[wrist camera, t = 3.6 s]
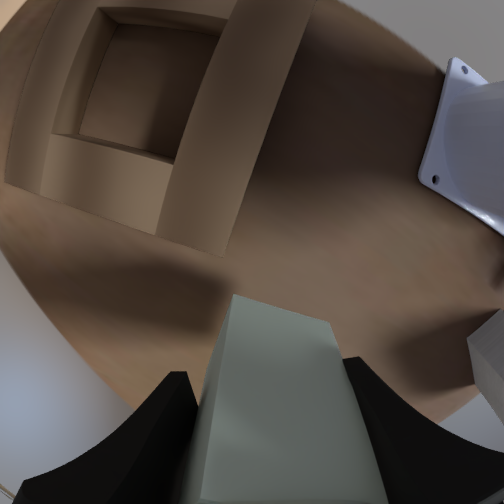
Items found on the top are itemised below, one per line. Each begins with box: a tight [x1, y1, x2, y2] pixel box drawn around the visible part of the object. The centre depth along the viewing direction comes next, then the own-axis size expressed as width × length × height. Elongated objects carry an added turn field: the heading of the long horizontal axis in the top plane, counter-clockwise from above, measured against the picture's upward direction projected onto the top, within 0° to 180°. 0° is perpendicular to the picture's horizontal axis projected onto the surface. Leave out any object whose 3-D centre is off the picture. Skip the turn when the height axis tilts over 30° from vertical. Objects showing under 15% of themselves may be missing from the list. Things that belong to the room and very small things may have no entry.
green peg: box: [178, 294, 389, 504], centre depth 7 cm, size 5×5×10 cm
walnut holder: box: [4, 0, 317, 258], centre depth 11 cm, size 12×12×2 cm
